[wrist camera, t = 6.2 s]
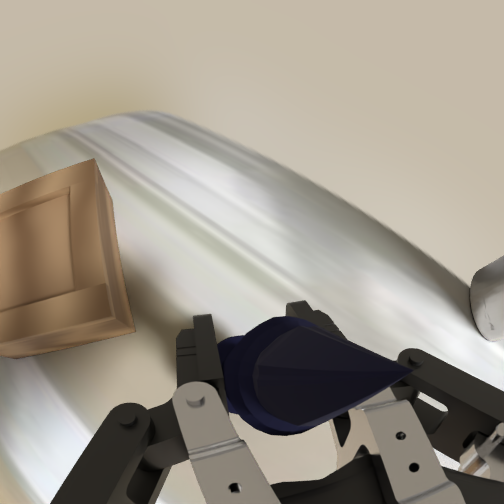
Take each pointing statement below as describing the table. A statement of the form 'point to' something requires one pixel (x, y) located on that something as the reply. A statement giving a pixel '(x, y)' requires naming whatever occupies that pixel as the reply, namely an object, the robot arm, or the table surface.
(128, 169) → the table surface
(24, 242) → the plinth
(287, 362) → the screw
